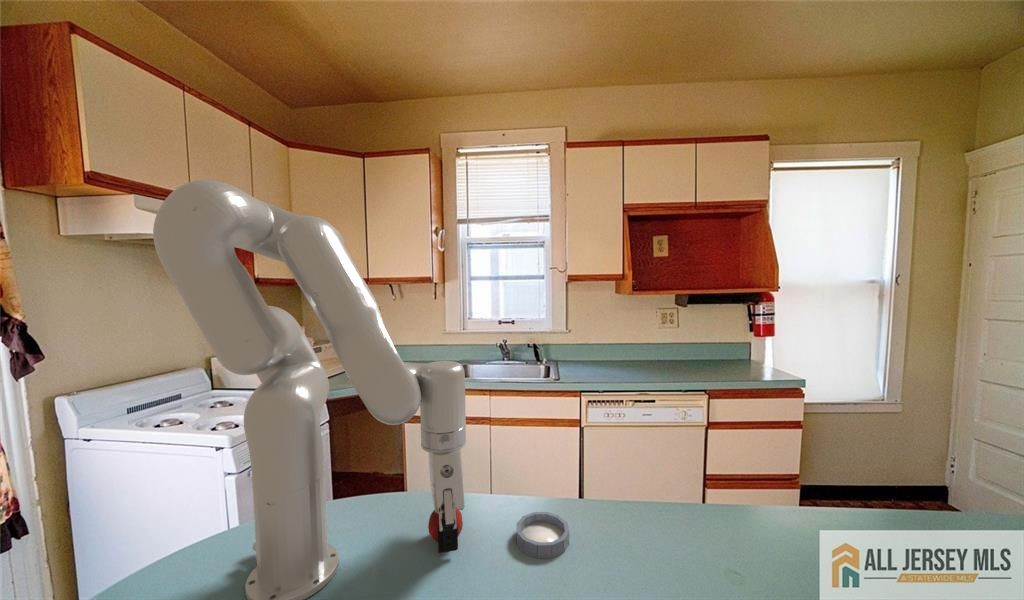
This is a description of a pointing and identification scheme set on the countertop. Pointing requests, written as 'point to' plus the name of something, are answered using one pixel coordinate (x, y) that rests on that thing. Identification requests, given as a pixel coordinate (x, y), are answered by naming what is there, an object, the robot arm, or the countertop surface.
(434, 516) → the onion
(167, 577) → the countertop surface
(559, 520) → the gray dish
